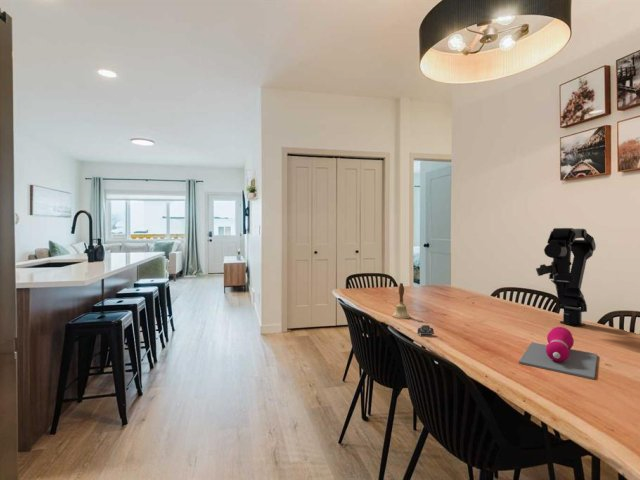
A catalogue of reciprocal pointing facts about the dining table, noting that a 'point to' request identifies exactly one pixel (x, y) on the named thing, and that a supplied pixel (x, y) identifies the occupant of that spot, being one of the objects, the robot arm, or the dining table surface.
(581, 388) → the dining table surface
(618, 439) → the dining table surface
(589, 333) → the dining table surface
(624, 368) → the dining table surface
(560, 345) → the pepper mill
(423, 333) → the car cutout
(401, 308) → the hand bell
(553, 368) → the mat
